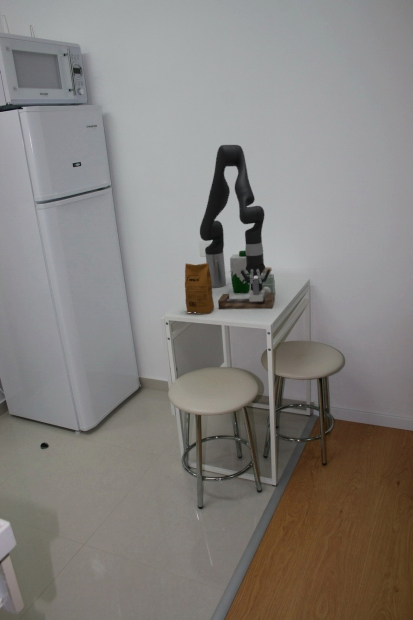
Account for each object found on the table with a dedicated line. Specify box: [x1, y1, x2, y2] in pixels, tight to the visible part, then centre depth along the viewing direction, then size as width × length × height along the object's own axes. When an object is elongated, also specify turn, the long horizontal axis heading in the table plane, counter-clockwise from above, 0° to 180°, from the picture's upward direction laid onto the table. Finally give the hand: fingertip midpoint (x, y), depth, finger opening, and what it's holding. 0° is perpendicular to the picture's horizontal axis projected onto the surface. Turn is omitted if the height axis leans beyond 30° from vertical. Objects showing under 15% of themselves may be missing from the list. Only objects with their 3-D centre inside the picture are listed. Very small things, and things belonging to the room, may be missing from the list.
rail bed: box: [217, 293, 276, 310], centre depth 225 cm, size 24×10×4 cm, turn 77°
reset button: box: [262, 266, 273, 277], centre depth 231 cm, size 5×5×4 cm
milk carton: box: [229, 250, 251, 295], centre depth 243 cm, size 9×9×20 cm
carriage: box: [248, 277, 265, 302], centre depth 222 cm, size 6×8×8 cm
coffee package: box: [184, 262, 215, 314], centre depth 221 cm, size 10×12×22 cm
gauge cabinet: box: [262, 273, 276, 298], centre depth 233 cm, size 6×8×10 cm
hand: (256, 290), depth 223 cm, fingers closed on carriage, 2 cm apart
